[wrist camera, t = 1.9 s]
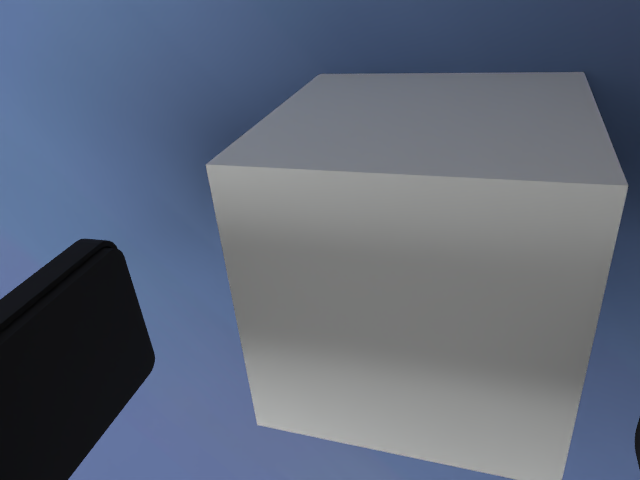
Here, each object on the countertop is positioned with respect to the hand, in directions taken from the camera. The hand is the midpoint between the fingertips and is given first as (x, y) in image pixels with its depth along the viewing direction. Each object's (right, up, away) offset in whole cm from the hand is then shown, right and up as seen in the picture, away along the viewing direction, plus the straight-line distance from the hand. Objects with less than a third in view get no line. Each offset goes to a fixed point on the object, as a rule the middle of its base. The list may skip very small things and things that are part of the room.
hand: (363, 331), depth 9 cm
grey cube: (+2, +3, +5) cm, 6 cm away
